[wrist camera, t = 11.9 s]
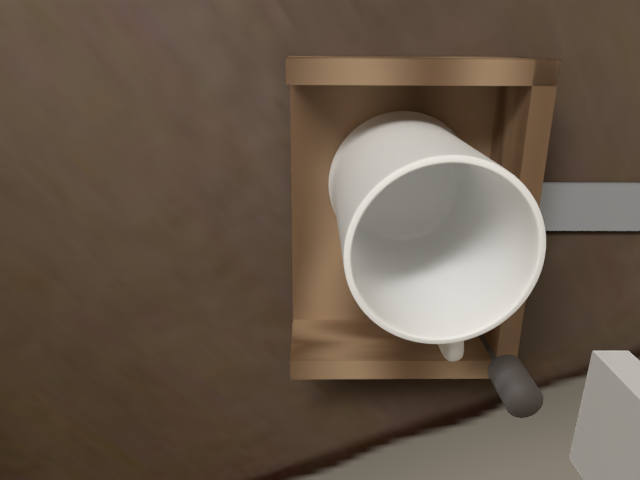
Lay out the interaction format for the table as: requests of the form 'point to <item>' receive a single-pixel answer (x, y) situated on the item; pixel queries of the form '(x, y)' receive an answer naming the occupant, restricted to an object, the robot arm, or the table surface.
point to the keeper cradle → (321, 222)
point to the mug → (432, 231)
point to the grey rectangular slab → (590, 206)
